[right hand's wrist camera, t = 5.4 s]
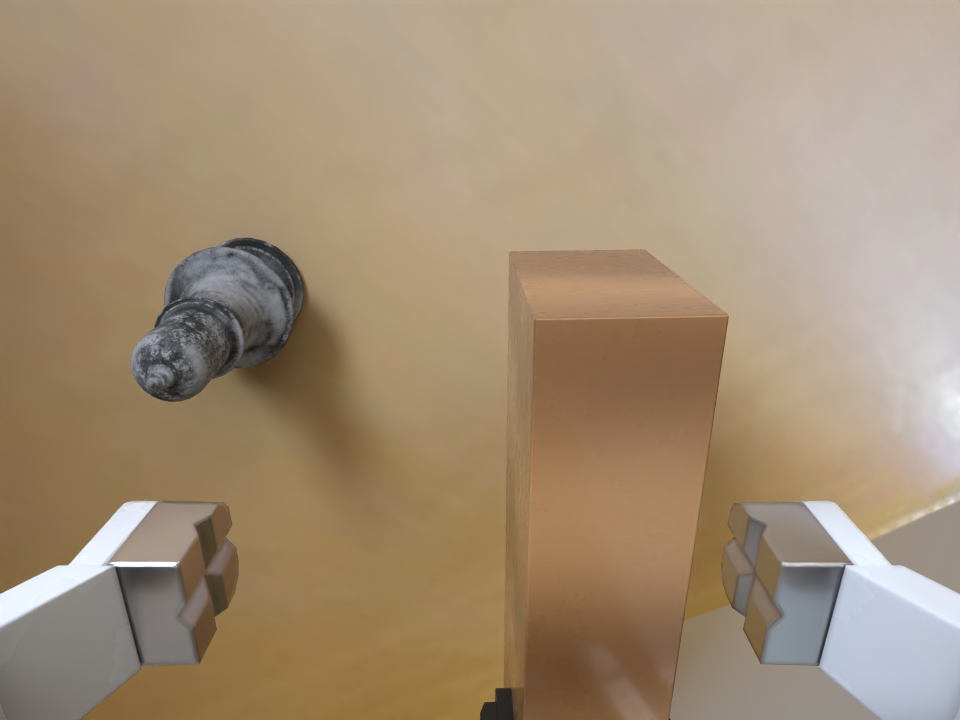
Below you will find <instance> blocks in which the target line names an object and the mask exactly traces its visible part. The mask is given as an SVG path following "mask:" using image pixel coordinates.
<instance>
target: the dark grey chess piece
mask: <svg viewBox="0 0 960 720" xmlns="http://www.w3.org/2000/svg"><path fill="white" fill-rule="evenodd" d="M303 295H304V292H303V284H302V279H301V277H300V275H299V272H298V270H297V268H296V266H295V265H294V264H293V262H292V261H291V260H290V258H289V257H288V256H287V255H286V254H284V253H283V252H282V251H281V250H280V249H278V248H277V247H275V246H273V245H271V244H269V243H267V242H265V241H262V240H257V239H253V238H236V239H233V240H230V241H226V242H223V243H222V244H220V245H219V246H217V247H216V248H208V249H205V250H201V251H198V252H195V253H193V254H192V255H190V256H189V257H187V258H186V259H184V260H183V261H181V262H180V263H179V264H178V266H177V267H176V268H175V269H174V271H173V272H172V273H171V275H170V277H169V280H168V283H167V285H166V288H165V300H164V305H165V308H164V309H163V310H162V312H161V313H160V314H159V316H158V318H157V321H156V323H155V328H154V329H153V330H152V331H150V332H149V333H148V334H147V335H145V336H144V337H143V338H142V339H141V340H140V341H139V342H138V344H137V345H136V347H135V349H134V351H133V354H132V357H131V368H132V372H133V376H134V377H135V379H136V381H137V383H138V384H139V385H140V386H141V387H142V389H143V390H144V391H146V392H147V393H149V394H150V395H151V396H153V397H156V398H158V399H160V400H164V401H170V402H176V401H183V400H186V399H189V398H191V397H193V396H195V395H196V394H198V393H200V392H201V391H202V390H203V389H204V387H205V386H206V385H207V384H208V383H209V382H210V380H211V379H214V378H217V377H220V376H223V375H225V374H226V373H228V372H229V371H231V370H232V369H233V368H248V367H252V366H255V365H258V364H262V363H264V362H266V361H267V360H269V359H270V358H272V357H274V356H275V355H276V354H277V353H278V352H279V351H280V350H281V349H282V348H283V346H284V345H285V344H286V342H287V340H288V338H289V336H290V334H291V332H292V328H293V321H294V320H295V319H296V317H297V316H298V313H299V311H300V309H301V307H302V302H303Z"/></svg>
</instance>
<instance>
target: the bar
mask: <svg viewBox="0 0 960 720" xmlns="http://www.w3.org/2000/svg"><path fill="white" fill-rule="evenodd" d="M727 324H728V314H726V313H725V312H724V311H722V310H721V309H720V308H719V307H717V306H716V305H715V304H713V303H712V302H711V301H710V300H708V299H707V298H706V297H705V296H703V295H702V294H701V293H699V292H698V291H697V290H696V289H694V288H693V287H692V286H691V285H689V284H688V283H687V282H685V281H684V280H683V279H682V278H680V277H679V276H678V275H676V274H675V273H674V272H673V271H671V270H670V269H669V268H668V267H666V266H665V265H664V264H662V263H661V262H660V261H659V260H657V259H656V258H655V257H653V256H652V255H651V254H650V253H648V252H647V251H646V250H590V251H523V252H510V253H509V312H508V395H507V479H506V562H505V646H504V688H511V694H512V704H513V714H514V720H669V715H670V708H671V702H672V695H673V688H674V681H675V675H676V668H677V661H678V654H679V648H680V641H681V634H682V628H683V621H684V614H685V607H686V601H687V594H688V587H689V580H690V574H691V567H692V560H693V553H694V547H695V540H696V533H697V526H698V520H699V513H700V506H701V499H702V493H703V486H704V479H705V472H706V466H707V459H708V452H709V445H710V439H711V432H712V425H713V418H714V412H715V405H716V398H717V391H718V385H719V378H720V371H721V364H722V358H723V351H724V344H725V337H726V331H727Z"/></svg>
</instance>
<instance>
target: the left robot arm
mask: <svg viewBox="0 0 960 720" xmlns="http://www.w3.org/2000/svg"><path fill="white" fill-rule="evenodd" d="M480 720H514V714H513V704H512V694H511V688H496V689H495V702H484V705H483V708H482V710H481V713H480ZM669 720H670V718H669Z"/></svg>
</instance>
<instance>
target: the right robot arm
mask: <svg viewBox="0 0 960 720" xmlns="http://www.w3.org/2000/svg"><path fill="white" fill-rule="evenodd" d="M231 526H232V521H231V516H230V511H229V507H228V506H227V505H226V504H225V503H223V502H190V501H162V502H161V501H130V502H127V503H124V504H123V505H122V506H121V507H120V508H119V509H118V511H117V512H116V513H115V514H114V515H113V516H112V517H111V518H110V519H109V521H108V522H107V523H106V524H105V525H104V526H103V527H102V528H101V529H100V531H99V532H98V533H97V534H96V535H95V536H94V537H93V538H92V539H91V541H90V542H89V543H88V544H87V545H86V546H85V547H84V548H83V549H82V551H81V552H80V553H79V554H78V555H77V556H76V557H75V558H74V559H73V561H72V562H71V563H70V564H69V565H58V566H56V567H54V568H52V569H50V570H48V571H46V572H44V573H42V574H40V575H38V576H36V577H33V578H31V579H29V580H27V581H25V582H23V583H21V584H19V585H17V586H15V587H13V588H11V589H9V590H7V591H5V592H3V593H1V594H0V720H80V719H82V718H83V717H84V716H85V715H86V714H88V713H89V712H90V711H91V710H92V709H94V708H95V707H96V706H97V705H98V704H100V703H101V702H102V701H103V700H104V699H106V698H107V697H108V696H109V695H110V694H112V693H113V692H114V691H115V690H116V689H118V688H119V687H120V686H121V685H122V684H124V683H125V682H126V681H127V680H128V679H130V678H131V677H132V676H133V675H134V674H136V673H137V672H138V671H139V670H140V669H141V666H148V665H182V664H200V662H201V660H202V658H203V656H204V654H205V652H206V650H207V648H208V646H209V644H210V642H211V640H212V638H213V636H214V634H215V632H216V630H217V628H216V622H215V616H217V615H218V614H219V613H221V612H222V611H224V610H225V609H226V608H228V606H229V604H230V602H231V600H232V597H233V595H234V593H235V588H236V584H237V579H238V555H237V549H236V547H235V546H234V545H233V544H232V543H231V542H230V541H229V540H228V539H227V538H226V535H227V533H228V532H229V530H230V528H231ZM728 526H729V528H730V530H731V531H732V533H733V535H734V538H733V539H732V540H731V541H730V542H729V543H728V544H727V545H726V546H725V547H724V549H723V556H722V564H721V567H722V579H723V585H724V589H725V592H726V595H727V598H728V600H729V602H730V604H731V606H732V608H734V609H735V610H736V611H738V612H739V613H741V614H742V615H744V616H745V623H744V628H743V630H744V632H745V634H746V636H747V638H748V640H749V642H750V644H751V646H752V648H753V650H754V652H755V654H756V656H757V657H758V659H759V661H760V663H761V664H777V665H813V666H819V669H820V670H821V671H822V672H824V673H825V674H826V675H827V676H828V677H830V678H831V679H832V680H833V681H834V682H836V683H837V684H838V685H839V686H840V687H841V688H843V689H844V690H845V691H846V692H847V693H849V694H850V695H851V696H852V697H853V698H855V699H856V700H857V701H858V702H859V703H861V704H862V705H863V706H864V707H865V708H867V709H868V710H869V711H870V712H871V713H873V714H874V715H875V716H876V717H877V718H879V719H880V720H960V594H959V593H957V592H955V591H953V590H951V589H949V588H947V587H945V586H943V585H940V584H939V583H936V582H934V581H933V580H930V579H928V578H926V577H924V576H922V575H920V574H918V573H916V572H914V571H912V570H910V569H908V568H906V567H904V566H902V565H891V564H890V563H889V562H888V561H887V559H886V558H885V557H884V556H883V555H882V554H881V553H880V552H879V551H878V549H877V548H876V547H875V546H874V545H873V544H872V543H871V542H870V541H869V539H868V538H867V537H866V536H865V535H864V534H863V533H862V532H861V531H860V529H859V528H858V527H857V526H856V525H855V524H854V523H853V522H852V521H851V519H850V518H849V517H848V516H847V515H846V514H845V513H844V512H843V511H842V509H841V508H840V507H839V506H838V505H837V504H836V503H833V502H831V501H829V500H824V501H797V502H767V503H734V505H733V507H732V509H731V511H730V515H729V520H728Z"/></svg>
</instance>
